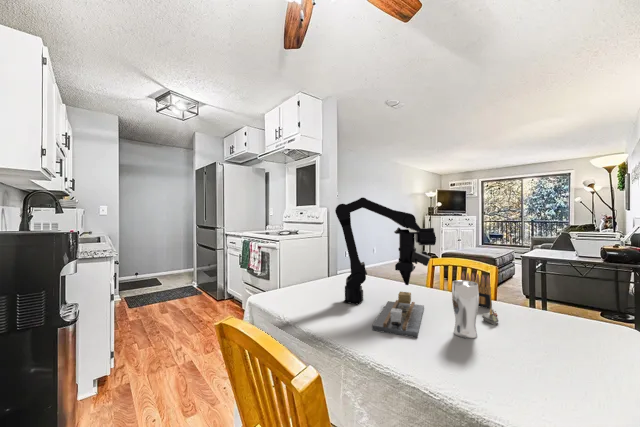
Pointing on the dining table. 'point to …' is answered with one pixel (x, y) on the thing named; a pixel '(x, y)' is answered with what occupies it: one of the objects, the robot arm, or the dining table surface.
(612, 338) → the dining table surface
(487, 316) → the figurine
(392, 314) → the fixed leg
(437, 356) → the dining table surface
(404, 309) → the bolt plate
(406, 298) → the tan wooden block
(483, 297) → the ammunition clip
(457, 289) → the beer glass
